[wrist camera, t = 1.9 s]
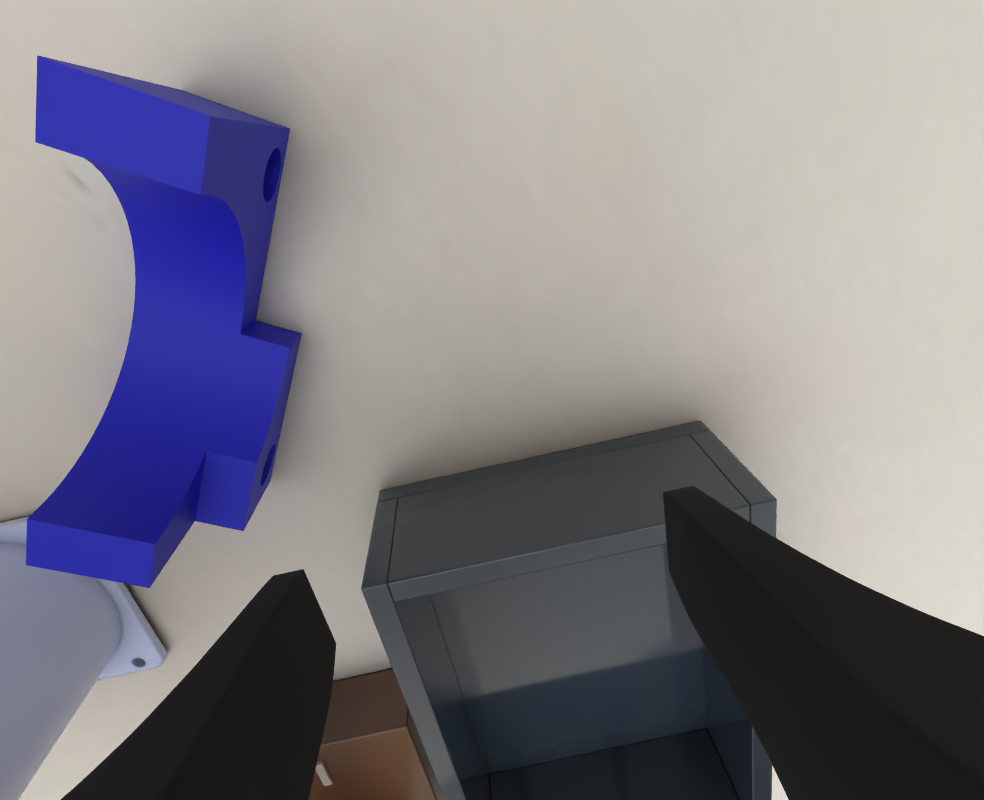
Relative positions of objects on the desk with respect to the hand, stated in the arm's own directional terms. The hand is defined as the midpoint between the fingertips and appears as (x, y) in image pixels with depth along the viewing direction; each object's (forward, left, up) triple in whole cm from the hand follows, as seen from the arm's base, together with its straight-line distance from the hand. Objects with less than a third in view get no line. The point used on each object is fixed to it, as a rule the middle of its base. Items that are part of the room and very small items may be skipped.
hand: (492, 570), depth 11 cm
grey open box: (+2, -12, -10) cm, 16 cm away
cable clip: (-7, +4, -10) cm, 13 cm away
